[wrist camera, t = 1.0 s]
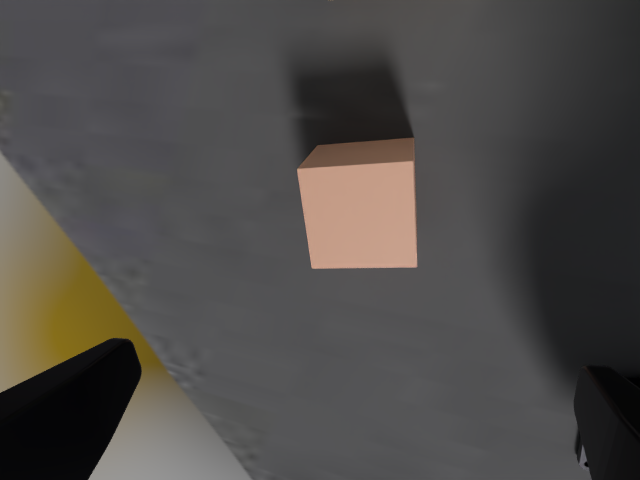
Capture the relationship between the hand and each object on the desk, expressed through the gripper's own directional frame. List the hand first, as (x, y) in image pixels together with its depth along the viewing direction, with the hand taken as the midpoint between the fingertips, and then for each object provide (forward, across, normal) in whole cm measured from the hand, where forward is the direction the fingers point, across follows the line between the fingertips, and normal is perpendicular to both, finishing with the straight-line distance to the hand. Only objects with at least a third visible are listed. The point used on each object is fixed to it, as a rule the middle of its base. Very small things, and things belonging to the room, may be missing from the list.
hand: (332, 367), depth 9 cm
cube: (+13, +1, +1) cm, 13 cm away
